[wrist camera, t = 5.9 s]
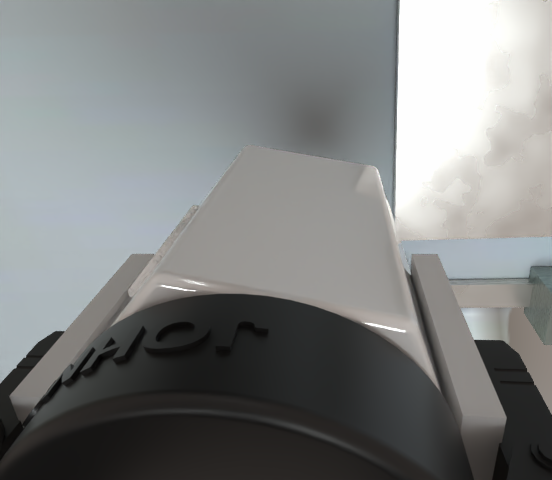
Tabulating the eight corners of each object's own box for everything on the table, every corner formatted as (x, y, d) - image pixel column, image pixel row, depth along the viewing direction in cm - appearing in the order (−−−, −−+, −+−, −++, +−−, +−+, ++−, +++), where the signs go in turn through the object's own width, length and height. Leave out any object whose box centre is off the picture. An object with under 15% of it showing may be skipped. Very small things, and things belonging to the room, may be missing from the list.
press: (345, -94, 27) (357, -240, 11) (678, -136, 24) (1262, -392, 9) (353, 313, 38) (364, 514, 23) (579, 311, 36) (762, 535, 21)
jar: (282, 86, 15) (155, 246, 5) (459, 235, 17) (669, 618, 6) (145, 265, 19) (-105, 588, 8) (300, 376, 21) (259, 772, 10)
